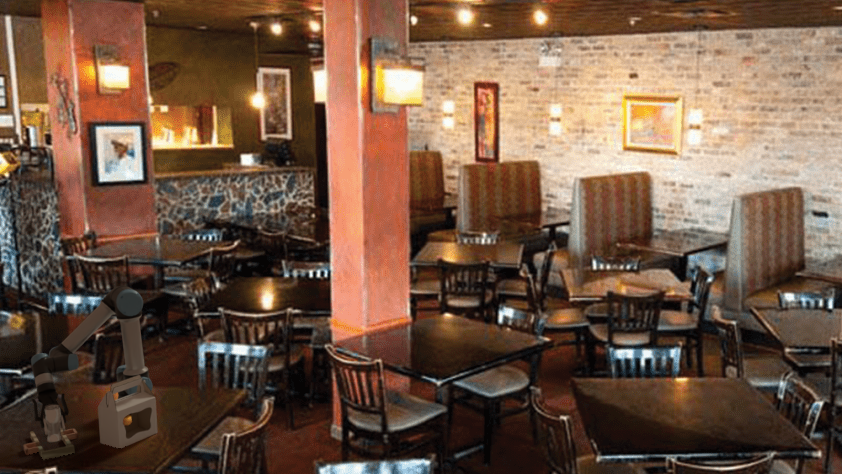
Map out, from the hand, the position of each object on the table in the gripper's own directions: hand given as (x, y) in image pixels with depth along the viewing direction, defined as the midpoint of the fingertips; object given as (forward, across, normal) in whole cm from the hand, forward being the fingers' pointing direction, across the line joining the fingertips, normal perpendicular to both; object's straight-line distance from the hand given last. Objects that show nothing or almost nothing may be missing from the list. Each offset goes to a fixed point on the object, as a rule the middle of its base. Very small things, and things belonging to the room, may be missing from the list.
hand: (55, 431), depth 365 cm
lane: (-1, 0, -16) cm, 16 cm away
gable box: (+7, -31, -8) cm, 33 cm away
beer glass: (+1, 0, -6) cm, 6 cm away
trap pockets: (-2, 0, -17) cm, 17 cm away
